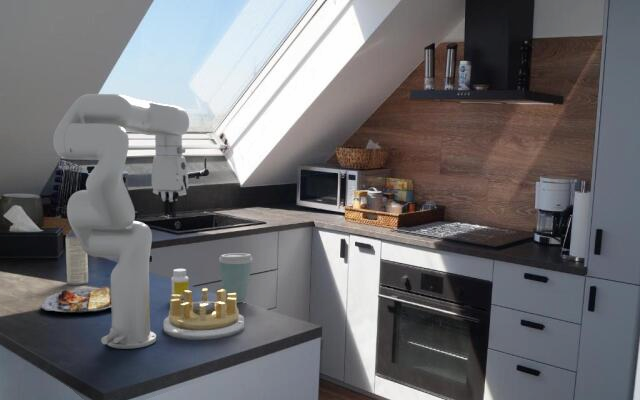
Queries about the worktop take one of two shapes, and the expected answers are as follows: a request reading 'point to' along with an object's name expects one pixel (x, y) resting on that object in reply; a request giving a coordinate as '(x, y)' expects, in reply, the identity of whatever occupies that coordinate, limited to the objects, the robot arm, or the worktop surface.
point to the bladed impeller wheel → (203, 311)
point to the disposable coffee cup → (235, 273)
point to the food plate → (79, 300)
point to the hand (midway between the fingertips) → (169, 214)
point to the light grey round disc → (203, 331)
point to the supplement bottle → (179, 282)
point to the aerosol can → (75, 261)
